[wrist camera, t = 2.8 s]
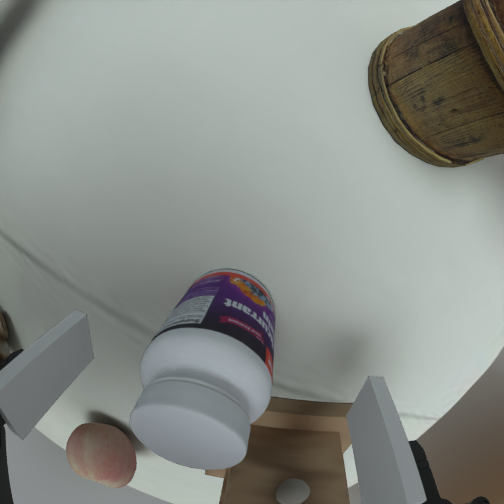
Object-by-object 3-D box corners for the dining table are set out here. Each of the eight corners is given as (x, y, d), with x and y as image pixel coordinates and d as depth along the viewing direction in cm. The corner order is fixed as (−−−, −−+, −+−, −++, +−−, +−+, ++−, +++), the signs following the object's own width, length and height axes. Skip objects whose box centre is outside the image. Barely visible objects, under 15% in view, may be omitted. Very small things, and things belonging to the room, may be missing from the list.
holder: (207, 464, 22) (190, 532, 13) (218, 387, 18) (187, 497, 9) (313, 475, 22) (315, 542, 13) (367, 403, 18) (393, 501, 9)
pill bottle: (290, 324, 16) (298, 466, 7) (218, 355, 17) (179, 480, 8) (244, 249, 15) (197, 368, 6) (170, 290, 16) (82, 401, 7)
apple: (93, 433, 24) (68, 475, 16) (79, 397, 21) (44, 445, 14) (149, 456, 23) (129, 505, 16) (142, 425, 21) (114, 484, 13)
